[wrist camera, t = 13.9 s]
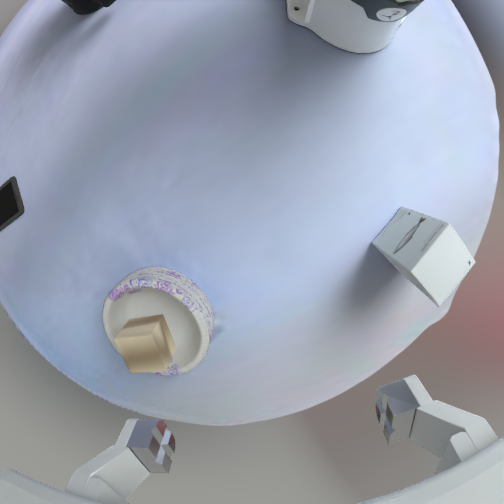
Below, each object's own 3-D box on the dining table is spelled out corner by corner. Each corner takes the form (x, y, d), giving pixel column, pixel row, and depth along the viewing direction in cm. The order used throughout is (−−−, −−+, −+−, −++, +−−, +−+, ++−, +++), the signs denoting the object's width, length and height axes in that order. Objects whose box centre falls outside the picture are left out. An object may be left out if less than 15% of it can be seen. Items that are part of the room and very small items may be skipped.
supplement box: (401, 204, 38) (451, 220, 25) (428, 238, 39) (477, 263, 27) (368, 241, 39) (409, 271, 27) (398, 273, 40) (440, 309, 28)
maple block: (129, 319, 35) (113, 339, 30) (163, 314, 34) (150, 335, 29) (143, 350, 36) (130, 372, 31) (176, 347, 36) (166, 370, 31)
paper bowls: (143, 352, 45) (127, 381, 38) (109, 270, 41) (84, 289, 34) (228, 340, 44) (223, 372, 36) (200, 248, 40) (187, 267, 32)
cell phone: (-18, 205, 39) (-20, 206, 38) (16, 174, 37) (13, 174, 36) (-8, 238, 41) (-11, 239, 40) (26, 211, 39) (24, 212, 38)
